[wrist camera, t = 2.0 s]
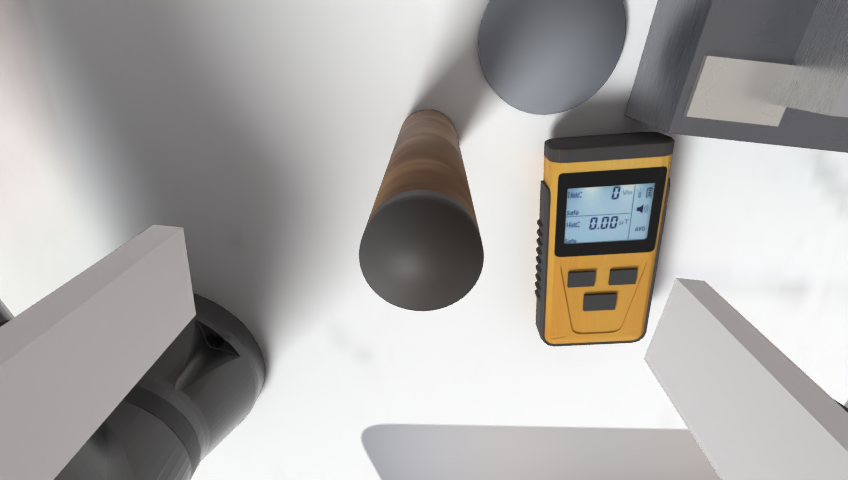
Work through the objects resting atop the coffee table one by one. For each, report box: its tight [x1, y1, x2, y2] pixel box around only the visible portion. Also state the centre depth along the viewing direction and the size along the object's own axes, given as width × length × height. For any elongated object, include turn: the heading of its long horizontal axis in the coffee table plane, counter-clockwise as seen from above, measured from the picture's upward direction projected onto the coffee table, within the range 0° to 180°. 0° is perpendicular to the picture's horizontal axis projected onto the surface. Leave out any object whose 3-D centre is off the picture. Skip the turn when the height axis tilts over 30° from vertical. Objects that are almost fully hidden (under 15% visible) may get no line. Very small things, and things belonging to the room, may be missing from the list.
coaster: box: [478, 0, 626, 115], centre depth 27 cm, size 9×9×1 cm
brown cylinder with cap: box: [359, 110, 484, 311], centre depth 22 cm, size 4×4×18 cm
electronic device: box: [535, 132, 674, 346], centre depth 31 cm, size 8×16×3 cm, turn 4°
